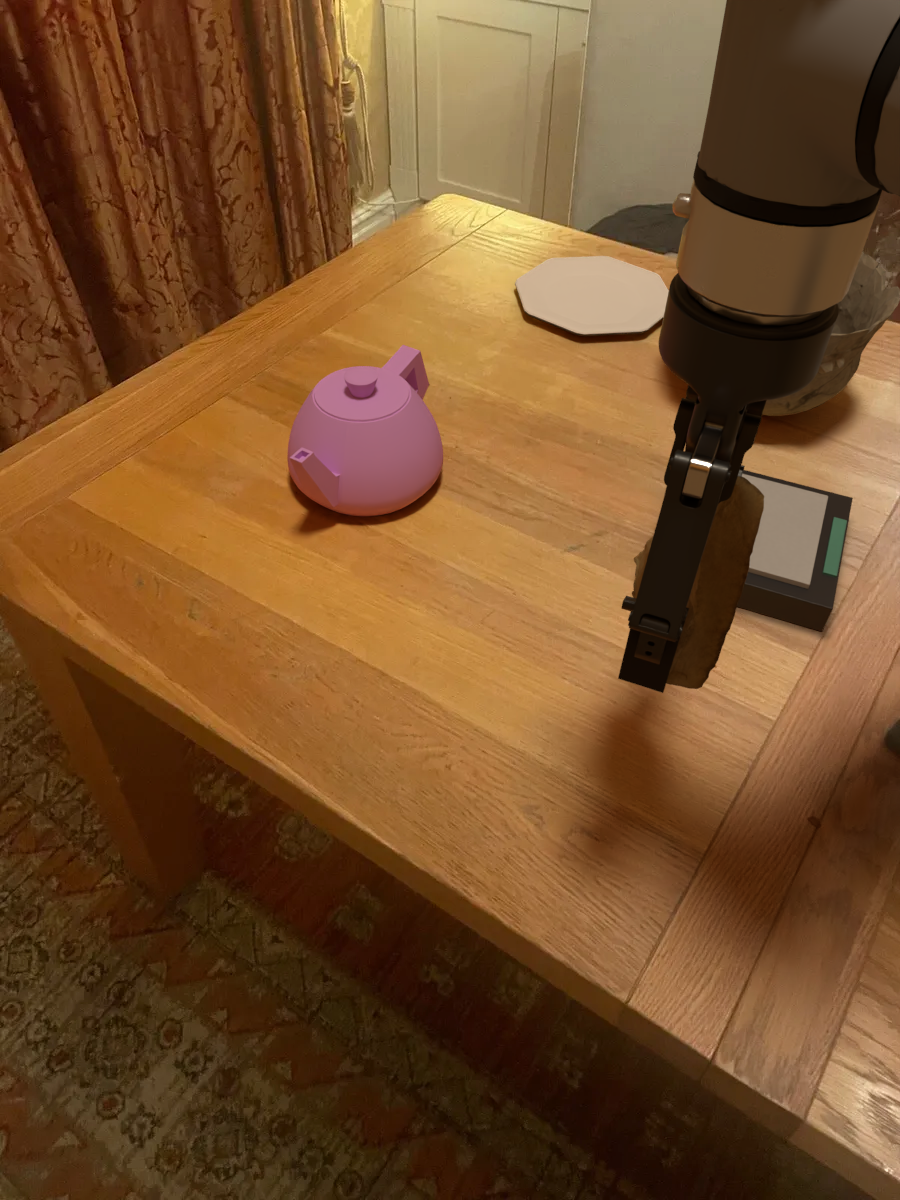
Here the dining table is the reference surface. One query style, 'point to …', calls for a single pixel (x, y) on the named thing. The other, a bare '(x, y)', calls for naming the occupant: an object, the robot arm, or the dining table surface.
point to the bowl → (845, 338)
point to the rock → (714, 584)
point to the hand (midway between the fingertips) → (663, 617)
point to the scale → (796, 552)
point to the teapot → (367, 438)
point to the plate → (593, 295)
